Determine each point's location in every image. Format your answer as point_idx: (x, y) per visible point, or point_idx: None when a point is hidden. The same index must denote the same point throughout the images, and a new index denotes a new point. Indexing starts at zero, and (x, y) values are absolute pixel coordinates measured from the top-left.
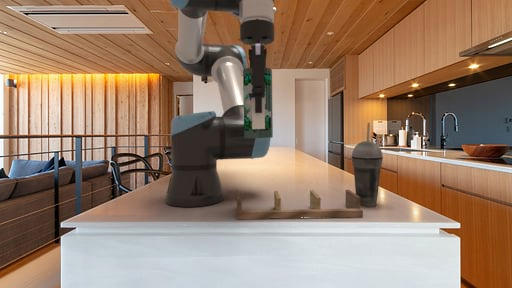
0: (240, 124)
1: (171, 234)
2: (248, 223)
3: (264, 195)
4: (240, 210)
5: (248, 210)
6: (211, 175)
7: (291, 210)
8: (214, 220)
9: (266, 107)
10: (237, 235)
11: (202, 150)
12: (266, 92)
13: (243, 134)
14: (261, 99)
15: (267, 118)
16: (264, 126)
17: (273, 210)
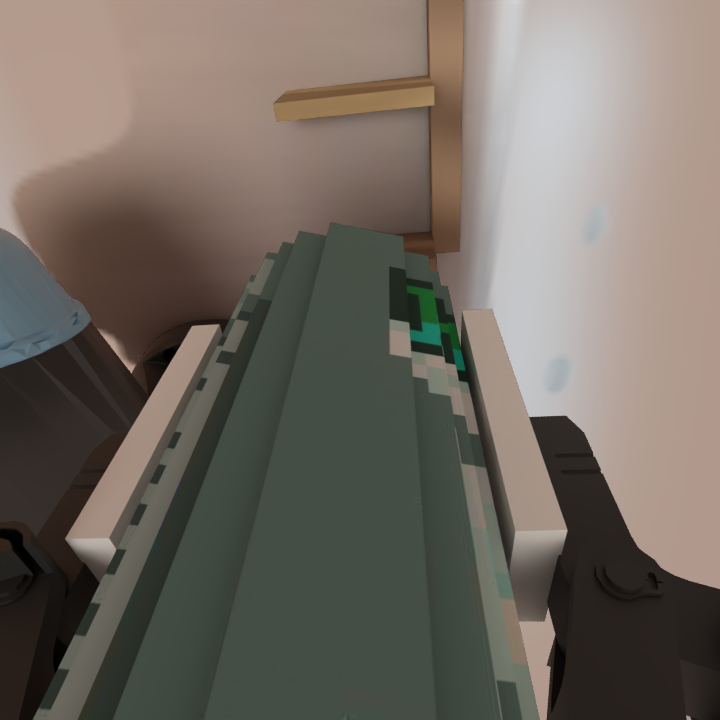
0: (39, 503)
1: (561, 378)
2: (498, 199)
3: (87, 163)
4: (433, 242)
5: (434, 214)
6: None
7: (443, 23)
8: (457, 305)
9: (447, 424)
10: (606, 221)
11: None
12: (474, 601)
13: (97, 431)
14: (627, 533)
15: (438, 340)
16: (494, 323)
17: (438, 112)
